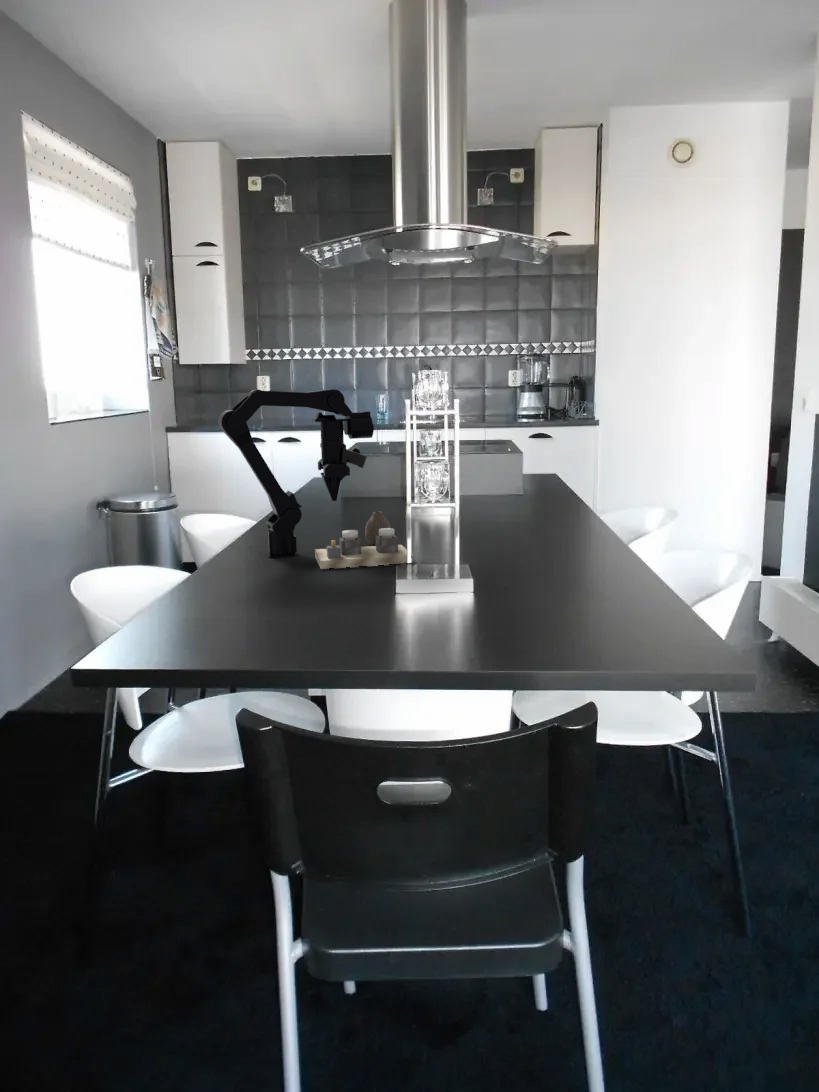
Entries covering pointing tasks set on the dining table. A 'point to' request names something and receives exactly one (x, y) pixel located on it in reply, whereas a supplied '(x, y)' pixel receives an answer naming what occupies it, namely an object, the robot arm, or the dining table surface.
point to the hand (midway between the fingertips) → (334, 500)
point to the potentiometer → (333, 550)
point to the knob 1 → (349, 534)
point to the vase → (375, 526)
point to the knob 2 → (386, 532)
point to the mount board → (364, 554)
